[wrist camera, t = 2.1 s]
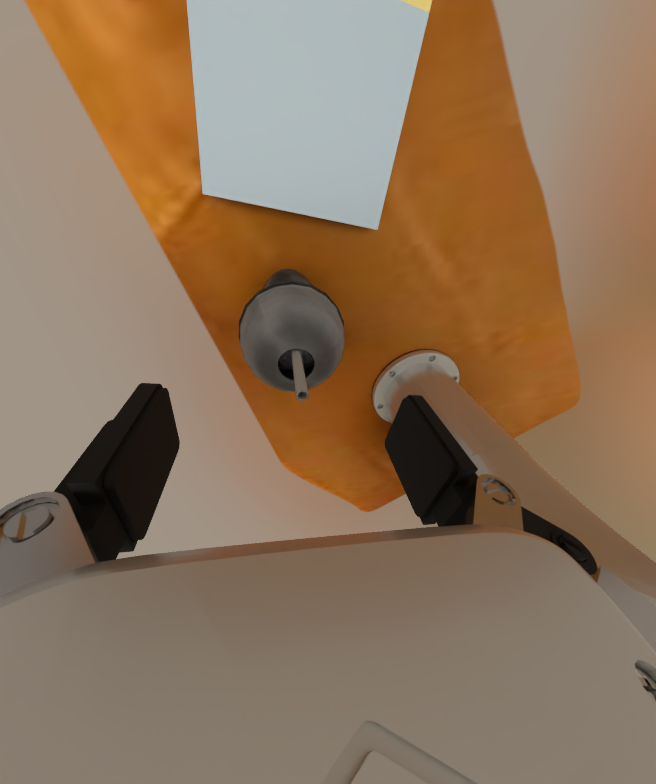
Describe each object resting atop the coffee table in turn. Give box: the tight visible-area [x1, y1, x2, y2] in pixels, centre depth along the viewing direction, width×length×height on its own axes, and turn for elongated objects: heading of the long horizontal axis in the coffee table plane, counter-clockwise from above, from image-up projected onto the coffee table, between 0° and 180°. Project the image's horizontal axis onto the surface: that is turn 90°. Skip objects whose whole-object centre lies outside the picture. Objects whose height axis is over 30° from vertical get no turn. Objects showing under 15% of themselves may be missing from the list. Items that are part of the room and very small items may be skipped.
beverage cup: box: [239, 269, 344, 401], centre depth 19 cm, size 7×7×20 cm
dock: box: [187, 0, 432, 230], centre depth 18 cm, size 14×14×3 cm
